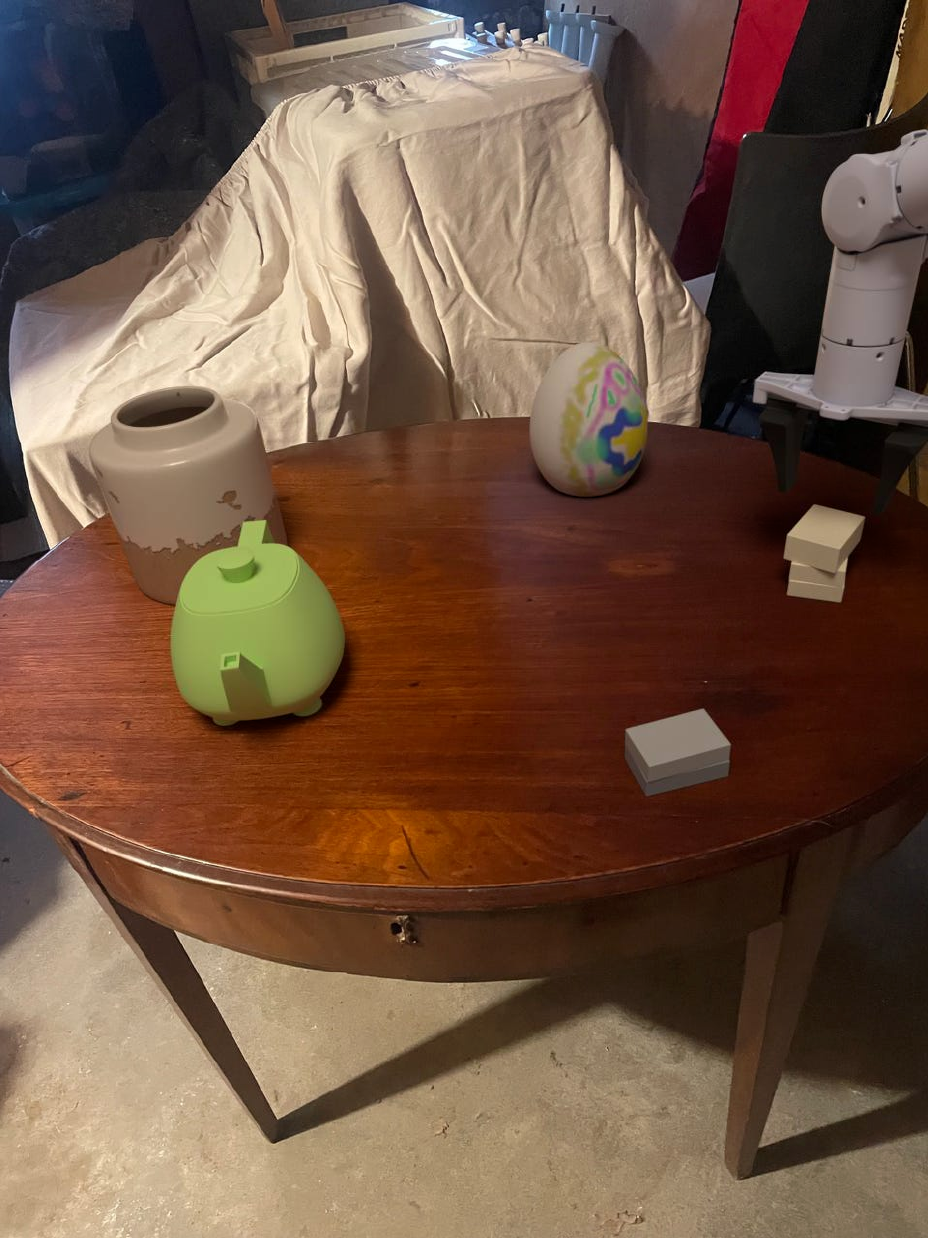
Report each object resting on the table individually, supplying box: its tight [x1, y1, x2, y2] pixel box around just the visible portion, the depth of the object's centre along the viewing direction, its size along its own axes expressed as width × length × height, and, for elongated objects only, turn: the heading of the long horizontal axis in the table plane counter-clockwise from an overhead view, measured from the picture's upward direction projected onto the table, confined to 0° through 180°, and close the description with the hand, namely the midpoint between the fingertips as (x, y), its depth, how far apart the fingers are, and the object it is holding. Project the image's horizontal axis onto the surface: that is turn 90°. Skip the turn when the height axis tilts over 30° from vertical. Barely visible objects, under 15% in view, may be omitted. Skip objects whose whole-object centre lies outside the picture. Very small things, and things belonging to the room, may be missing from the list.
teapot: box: [169, 520, 346, 727], centre depth 68 cm, size 20×13×13 cm
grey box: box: [624, 708, 732, 798], centre depth 60 cm, size 6×4×3 cm, turn 104°
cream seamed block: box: [786, 556, 849, 604], centre depth 76 cm, size 6×4×3 cm
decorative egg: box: [529, 341, 649, 498], centre depth 91 cm, size 12×12×15 cm
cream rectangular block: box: [783, 503, 866, 573], centre depth 75 cm, size 6×4×2 cm
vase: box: [88, 385, 289, 606], centre depth 83 cm, size 15×15×17 cm
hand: (832, 497), depth 72 cm, fingers open, 7 cm apart
